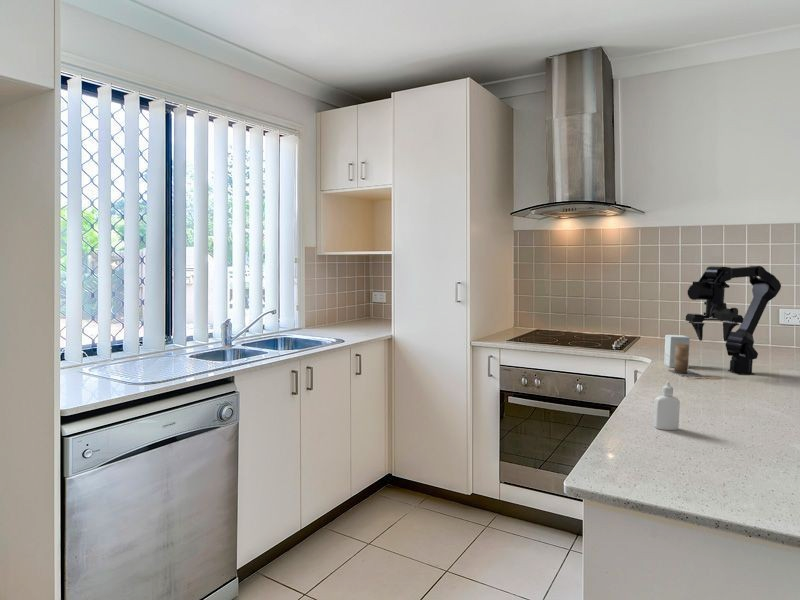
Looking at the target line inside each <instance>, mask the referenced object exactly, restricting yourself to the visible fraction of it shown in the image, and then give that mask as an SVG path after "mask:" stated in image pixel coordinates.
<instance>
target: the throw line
mask: <svg viewBox="0 0 800 600" xmlns="http://www.w3.org/2000/svg"><path fill="white" fill-rule="evenodd" d="M687 378H705V379H704V380H721V378H720V377H685V379H687ZM706 378H708V379H706Z"/></svg>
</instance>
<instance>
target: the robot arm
mask: <svg viewBox="0 0 800 600" xmlns="http://www.w3.org/2000/svg"><path fill="white" fill-rule="evenodd" d="M758 277H759V278H758ZM735 278H737V279H738V278H749V284H751V286H752V289H751V292H752V296H753V297H752V300H751V302H750V304H749V306H748V308H747V310H746V313H745V315H744V316H743V315H741V314H739V309H738V308H737V307H730V308H727V303H726V302H725V291H726V288H727V289H730V287H731V286H730V284H728V283H727V282H729V281H731V280H732V279H735ZM781 288H782V283H781V282H780V280H779V279H778V278H777V277H776V276H775V275H774V274H772V273H770V272H769V271H767V269H765V268H764V267H763V266H761V265H749V266H741V267H739V266H738V267H730V266H707V267H706V269H705V270H704V273H703V274H702V276H701V277H700V278H699V280H698V281H692V285H690V286H689V287H688V289H687V297H688V298H689V299H690V300H692V301H703V305H704V306H705V312H703V314H701V313H686V315H685V321H687V322H688V324H691V326H692V328H693V329H694V331H695V334H696V336H697V338H698V341H700V342H701V341H703V332H704V331H703V330H704V325H705V324H706V323H704V321H715V322H717V321H718V322H719V321H720V322H722V338H723V341H724V342H725V348H726V353H727V355H728V356H730V357H731V358H730V361H729V369H727V371H728V372H730V373H734V374H736V375H755V372H753V360H756V359H757V358H758V356H759V353H758V351H757V350H756V349H755V348H754V345H755V341H754V335H753V334H754V332H755V330H756V328H757V326H758V323H759V322H760V320H761V317H762V315H763V313H764V311H765V309H766V307H767V305H768V303H769V302H770V301H771V300H773V299H774V298H775V297H776V296H777V295H778V294H779V292H780V291H781ZM737 326H739V327H738V329H737V330H735V331H733V329H734V328H735V327H737ZM757 360H758V359H757Z"/></svg>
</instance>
